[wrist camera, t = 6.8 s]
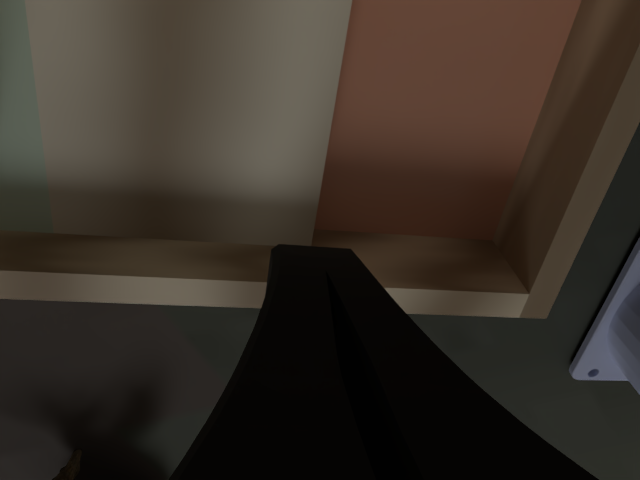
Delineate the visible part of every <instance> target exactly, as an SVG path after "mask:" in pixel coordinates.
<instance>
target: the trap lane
mask: <svg viewBox="0 0 640 480" xmlns="http://www.w3.org/2000/svg"><path fill="white" fill-rule="evenodd" d="M639 122H640V0H0V299H21V300H48V301H76V302H103V303H131V304H159V305H186V306H214V307H241V308H261V307H262V304H263V301H264V298H265V293H266V285H267V277H268V269H269V262H270V254H271V249H272V248H274V247H275V246H277V245H278V244H286V245H302V246H317V247H333V248H348V249H352V251H353V252H354V253H355V254H356V255H357V256H358V258H359V259H360V260H361V261H362V262H363V264H364V265H365V266H366V267H367V268H368V270H369V271H370V272H371V273H372V274H373V276H374V277H375V278H376V279H377V280H378V282H379V283H380V284H381V285H382V286H383V287H384V289H385V290H386V291H387V292H388V293H389V295H390V296H391V297H392V298H393V299H394V300H395V301H396V303H397V304H398V305H399V306H400V307H401V308H402V309H403V310H404V312H405V313H406V314H434V315H461V316H489V317H516V318H544V319H546V318H547V316H548V314H549V312H550V310H551V307H552V305H553V303H554V301H555V299H556V297H557V295H558V293H559V291H560V289H561V286H562V284H563V282H564V280H565V278H566V276H567V274H568V272H569V270H570V267H571V265H572V263H573V261H574V259H575V257H576V255H577V253H578V251H579V249H580V246H581V244H582V242H583V240H584V238H585V236H586V234H587V232H588V230H589V227H590V225H591V223H592V221H593V219H594V217H595V215H596V213H597V211H598V208H599V206H600V204H601V202H602V200H603V198H604V196H605V194H606V192H607V190H608V187H609V185H610V183H611V181H612V179H613V177H614V175H615V173H616V171H617V168H618V166H619V164H620V162H621V160H622V158H623V156H624V154H625V152H626V149H627V147H628V145H629V143H630V141H631V139H632V137H633V135H634V133H635V131H636V128H637V126H638V124H639Z"/></svg>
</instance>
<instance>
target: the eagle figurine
mask: <svg viewBox="0 0 640 480" xmlns="http://www.w3.org/2000/svg"><path fill="white" fill-rule="evenodd" d="M81 453H82V452H81V449H77V450H76V451H74V453H73V454H72V456H71V458H70V460H69V462H68V464H67V465H66V467H64V468H62V469H61V470H60V473H59V474H58V475H57V476H56V477H55V478H53V479H52V480H74V478H75V477H76V476H77V475H78V473H79V470H80V457H81Z"/></svg>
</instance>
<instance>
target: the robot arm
mask: <svg viewBox="0 0 640 480" xmlns="http://www.w3.org/2000/svg"><path fill="white" fill-rule="evenodd" d="M569 372H570V374H571V375H572V377H573V378H574V379H577V380H620V381H629V382H630V383H631V384H632V386H633V387H634V388H635V389H636V391H637V392H638V393H639V395H640V237H639V239H638V241H637V243H636V244H635V246H634V248H633V250H632V252H631V254H630V256H629V257H628V259H627V261H626V263H625V265H624V267H623V269H622V271H621V272H620V274H619V276H618V278H617V280H616V282H615V284H614V285H613V287H612V289H611V291H610V293H609V295H608V297H607V299H606V300H605V302H604V304H603V306H602V308H601V310H600V312H599V313H598V315H597V317H596V319H595V321H594V323H593V325H592V326H591V328H590V330H589V332H588V334H587V336H586V338H585V340H584V341H583V343H582V345H581V347H580V349H579V351H578V353H577V354H576V356H575V358H574V360H573V362H572V364H571V366H570V368H569ZM169 480H599V479H597V478H596V477H594V476H593V475H591V474H590V473H589V472H587V471H586V470H585V469H583V468H582V467H580V466H579V465H578V464H576V463H575V462H574V461H572V460H571V459H569V458H568V457H567V456H565V455H564V454H563V453H561V452H560V451H558V450H557V449H556V448H554V447H553V446H552V445H550V444H549V443H547V442H546V441H545V440H544V439H542V438H541V437H540V436H538V435H537V434H536V433H535V432H533V431H532V430H531V429H529V428H528V427H527V426H526V425H524V424H523V423H522V422H521V421H519V420H518V419H517V418H516V417H515V416H513V415H512V414H511V413H510V412H509V411H507V410H506V409H505V408H504V407H503V406H502V405H500V404H499V403H498V402H497V401H496V400H494V399H493V398H492V397H491V396H490V395H488V394H487V393H486V392H485V391H484V390H483V389H482V388H480V387H479V386H478V385H477V384H476V383H475V382H474V381H473V380H472V379H470V378H469V377H468V376H467V375H466V374H465V373H464V372H463V371H462V370H461V369H460V368H459V367H458V366H457V365H456V364H455V363H454V362H453V361H452V360H451V359H450V358H449V357H448V356H447V355H445V354H444V353H443V352H442V351H441V350H440V349H439V348H438V347H437V346H436V345H435V344H434V343H433V342H432V341H431V339H430V338H429V337H428V336H427V335H426V334H425V333H424V332H423V331H422V330H421V329H420V328H419V327H418V326H417V325H416V324H415V323H414V322H413V320H412V319H411V318H410V317H409V316H408V315H407V314H406V313H405V312H404V310H403V309H402V308H401V307H400V306H399V305H398V304H397V303H396V301H395V300H394V299H393V298H392V297H391V296H390V295H389V293H388V292H387V291H386V290H385V289H384V287H383V286H382V285H381V284H380V283H379V282H378V280H377V279H376V278H375V277H374V276H373V274H372V273H371V272H370V271H369V270H368V268H367V267H366V266H365V265H364V264H363V262H362V261H361V260H360V259H359V258H358V256H357V255H356V254H355V253H354V252H353V251H352V249H348V248H333V247H317V246H302V245H286V244H278V245H277V246H275V247H274V248H272V249H271V254H270V262H269V269H268V277H267V285H266V293H265V298H264V301H263V304H262V307H261V310H260V313H259V316H258V319H257V321H256V324H255V327H254V329H253V331H252V334H251V336H250V338H249V340H248V343H247V345H246V347H245V349H244V351H243V354H242V356H241V358H240V360H239V363H238V365H237V367H236V369H235V371H234V373H233V375H232V377H231V378H230V380H229V382H228V384H227V386H226V388H225V390H224V392H223V394H222V395H221V397H220V399H219V401H218V402H217V404H216V406H215V408H214V409H213V411H212V413H211V415H210V416H209V418H208V420H207V421H206V423H205V424H204V426H203V428H202V429H201V431H200V432H199V434H198V436H197V437H196V439H195V440H194V442H193V444H192V445H191V447H190V448H189V450H188V452H187V453H186V455H185V456H184V458H183V459H182V461H181V462H180V464H179V465H178V467H177V468H176V470H175V471H174V473H173V474H172V476H171V477H170V478H169Z"/></svg>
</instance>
